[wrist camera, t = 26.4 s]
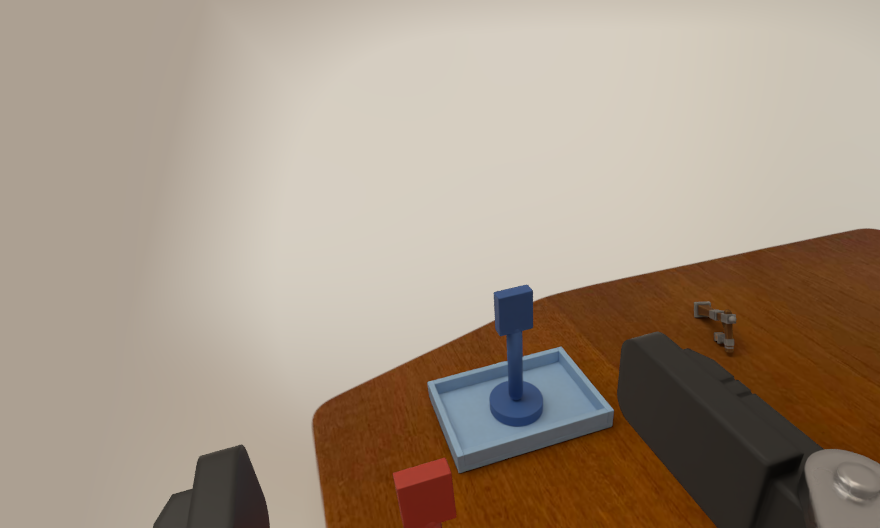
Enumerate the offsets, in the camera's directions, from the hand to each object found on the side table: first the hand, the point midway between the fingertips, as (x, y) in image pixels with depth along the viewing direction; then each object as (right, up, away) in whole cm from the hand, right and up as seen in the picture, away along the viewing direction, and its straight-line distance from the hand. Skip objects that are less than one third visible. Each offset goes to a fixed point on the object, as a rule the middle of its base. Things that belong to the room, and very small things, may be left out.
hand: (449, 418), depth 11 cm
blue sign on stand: (+7, -11, +40) cm, 42 cm away
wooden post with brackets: (+31, -5, +48) cm, 58 cm away
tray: (+7, -11, +40) cm, 43 cm away
